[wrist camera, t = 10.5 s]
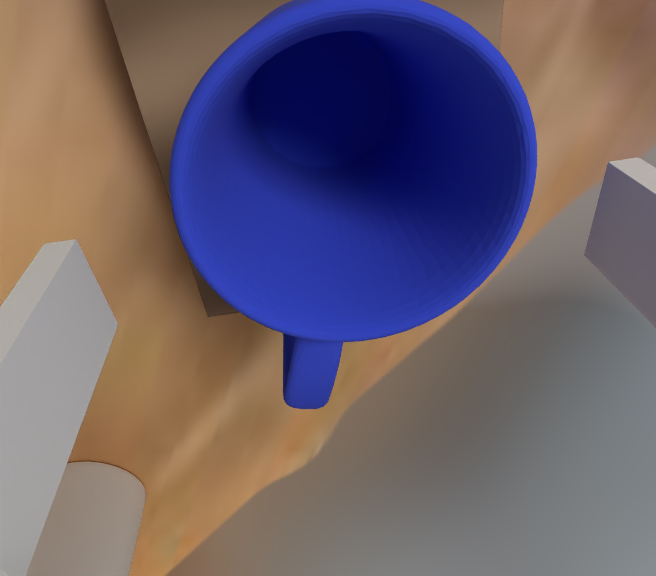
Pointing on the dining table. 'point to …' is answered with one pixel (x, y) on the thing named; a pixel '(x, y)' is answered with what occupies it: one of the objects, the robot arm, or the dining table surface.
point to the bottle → (90, 523)
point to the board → (201, 52)
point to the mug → (351, 174)
